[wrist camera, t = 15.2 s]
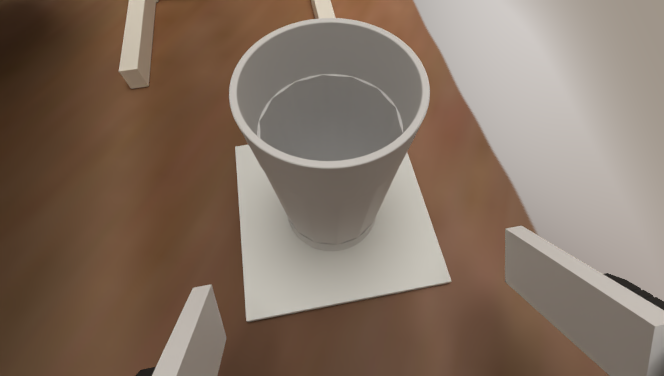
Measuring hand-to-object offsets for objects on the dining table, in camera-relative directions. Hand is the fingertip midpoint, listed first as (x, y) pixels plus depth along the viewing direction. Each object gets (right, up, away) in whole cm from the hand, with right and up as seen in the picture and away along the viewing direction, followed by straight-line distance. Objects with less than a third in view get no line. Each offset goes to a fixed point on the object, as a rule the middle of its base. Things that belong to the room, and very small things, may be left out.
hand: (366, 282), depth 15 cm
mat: (-1, +3, +10) cm, 10 cm away
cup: (-1, +3, +9) cm, 10 cm away
